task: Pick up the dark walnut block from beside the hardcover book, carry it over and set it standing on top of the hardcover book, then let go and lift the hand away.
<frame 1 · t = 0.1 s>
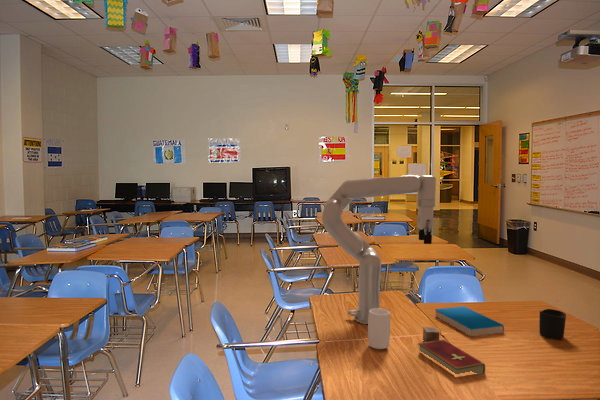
hand: (424, 241, 184), 37 cm above the table, tool pointing down, fingers open, 9 cm apart
pen holder: (551, 336, 173), on the table
cup: (378, 348, 159), on the table
book: (467, 325, 185), on the table
hardcover book: (449, 364, 148), on the table
walnut block: (430, 344, 163), on the table
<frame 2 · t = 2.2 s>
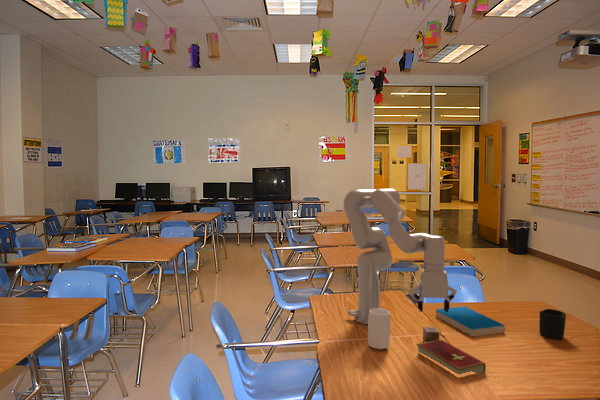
hand: (433, 310, 162), 14 cm above the table, tool pointing down, fingers open, 9 cm apart
nothing on the table moved.
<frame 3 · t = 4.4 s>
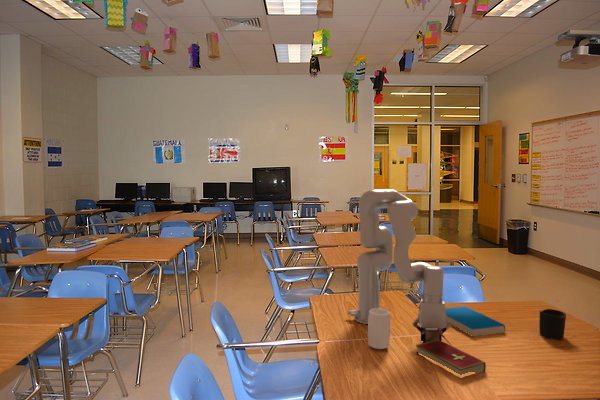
hand: (430, 342, 163), 1 cm above the table, tool pointing down, fingers closed on walnut block, 5 cm apart
walnut block: (430, 344, 163), on the table, touching gripper
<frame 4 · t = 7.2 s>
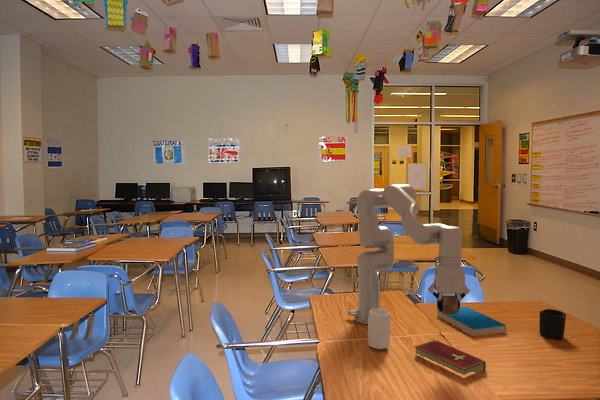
hand: (448, 310, 149), 18 cm above the table, tool pointing down, fingers closed on walnut block, 5 cm apart
walnut block: (448, 311, 149), point 17 cm above the table, touching gripper
when the fingers open (5 cm above the table, at t = 10.5 s): walnut block drops 1 cm, resting on hardcover book.
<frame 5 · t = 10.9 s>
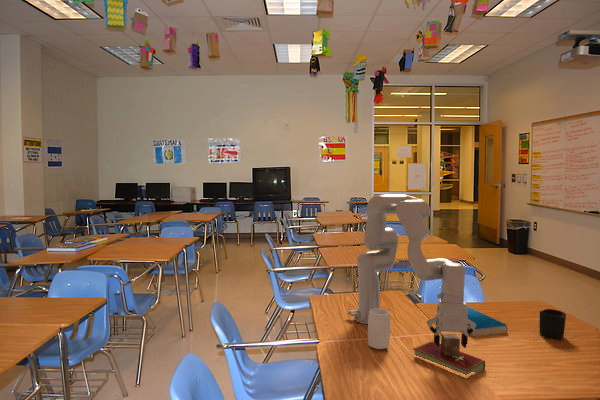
hand: (450, 345, 147), 6 cm above the table, tool pointing down, fingers open, 8 cm apart
hardcover book: (447, 365, 147), on the table, touching walnut block
walnut block: (449, 352, 148), point 3 cm above the table, touching hardcover book
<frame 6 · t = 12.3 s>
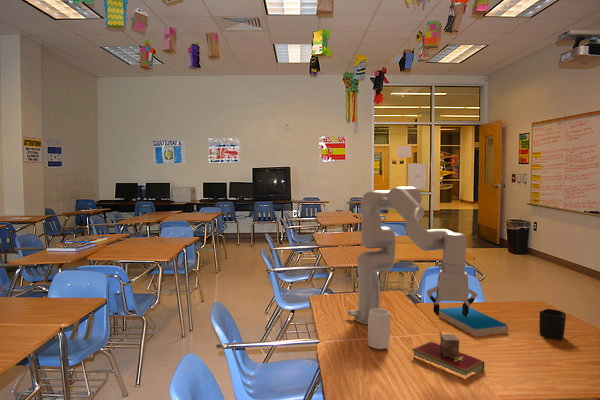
hand: (450, 315, 147), 17 cm above the table, tool pointing down, fingers open, 9 cm apart
walnut block: (449, 353, 147), point 4 cm above the table, touching hardcover book
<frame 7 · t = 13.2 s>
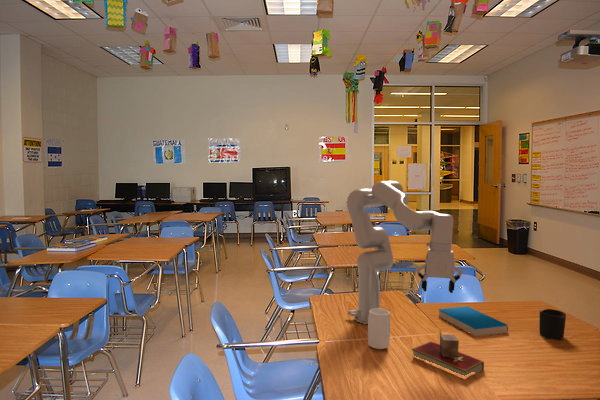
hand: (437, 291, 157), 23 cm above the table, tool pointing down, fingers open, 9 cm apart
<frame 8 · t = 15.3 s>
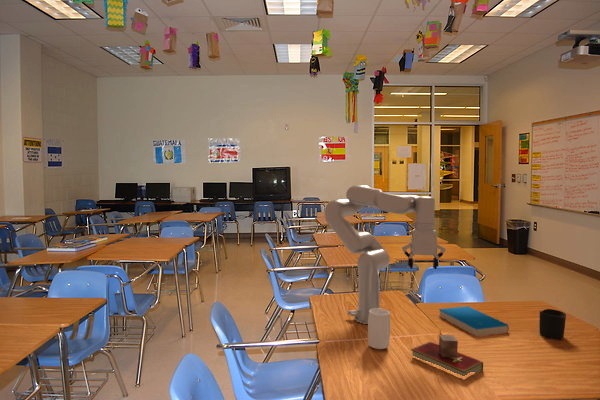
hand: (422, 268, 170), 28 cm above the table, tool pointing down, fingers open, 9 cm apart
at the end: walnut block inside the target area on the hardcover book (0.5 cm from its centre), point 4.4 cm above the hardcover book's base; walnut block tilted 0°; the gripper is holding nothing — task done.
